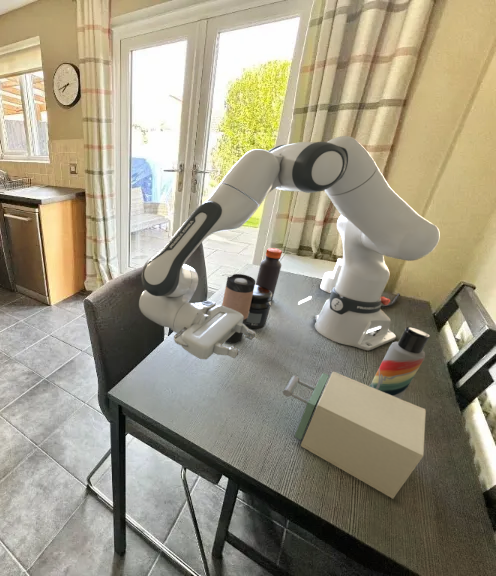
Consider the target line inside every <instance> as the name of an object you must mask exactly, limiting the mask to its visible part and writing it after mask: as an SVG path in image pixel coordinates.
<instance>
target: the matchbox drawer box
mask: <svg viewBox="0 0 496 576" xmlns="http://www.w3.org/2000/svg"><path fill="white" fill-rule="evenodd" d="M426 411H427V409H426V408H423V407H422V406H421V407H420V406H418V405H416V404H414V403H411V402H409V401H407V400H405V399H404V400H403V399H402V398H401V399H399V398H396V397H394V396H392V395H389V394H387V393H384V392H382V391H379V390H377V389H375V388H372V387H370V385H368V384H365V383H362V382H360V381H358V380H355V379H353V378H350V377H348V376H345V375H343V374H340V373H338V372H335V371H332V373H331V374H330V376H329V378H328V380H327V382H326V384H325V387H324V389H323V391H322V394H321V396H320V399H319V401H318V403H317V406H316V408H315V410H314V413H313V415H312V417H311V419H310V421H309V423H308V426H307V428H306V430H305V433H304V435H303V438H302V441H301V443H300V447H302V448H304V449H305V450H307V451H308V452H310V453H312V454H314V455H316V456H317V457H319V458H321V459H322V460H325V461H326V462H328V463H329V464H331V465H333V466H335V467H336V468H338V469H340V470H342V471H344V472H345V473H347V474H348V475H350V476H352V477H353V478H356V479H357V480H359V481H361V482H363V484H366V485H368V486H370V487H371V488H373V489H374V490H377V491H378V492H380V493H381V494H383V495H385V496H387V497H389V498H391V499H393V500H394V499H395V497H396V495H397V494H398V493H399V491H400V490H401V488H402V487H403V486H404V485H405V483H406V482H407V481H408V478H410V476H411V475H412V473H413V472H414V470H415V469H416V467H417V466H418V465H419V463H420V462H421V460H422V459H423V458H424V454H425V453H424V451H425V434H426V433H425V432H426V414H427V413H426Z"/></svg>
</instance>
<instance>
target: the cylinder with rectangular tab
mask: <svg viewBox="0 0 496 576" xmlns="http://www.w3.org/2000/svg"><path fill="white" fill-rule="evenodd" d="M342 262H343V258H339V257H338V258H337V260H336V263H335V266H334V269H333V271H326V272H324V274H323V277H322V280H321V283H320V286H319V288H320V289H321V290H322V291H324V292H325V293H329V294H330V293H331V291H332V289H333V288H334V287H335V286H336V283H337V280H338V277H339V274H340V271H341V268H342Z"/></svg>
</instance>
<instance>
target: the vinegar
mask: <svg viewBox="0 0 496 576" xmlns="http://www.w3.org/2000/svg"><path fill="white" fill-rule="evenodd" d="M282 253H283V250H281V249H279V248H276V247H269V248H267V249H266V251H265V258H264V259H263V260H261V261H260V264H259V269H258V273H257V276H256V277H257V278H256V280H255V285H258V286H262V287H264V288H267V289H268V290H270V291H271V292H272V297H271V300H270V301H271V303H272V302H273V299H274V295H275V291H276V287H277V284H278V280H279V276H280V272H281V269H282V263H281V262H280V259H281V257H282Z"/></svg>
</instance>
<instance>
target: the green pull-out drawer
mask: <svg viewBox="0 0 496 576" xmlns="http://www.w3.org/2000/svg"><path fill="white" fill-rule="evenodd" d="M329 378H330V375H329V374H327V373H325V372H322V373H321V376H320V377H319V379H318V381H317V383H316V385H315V386H313V385H312V384H309V383H307V382H304V381H303V380H300V378H299V377H298V376H297V375H292V376H291V377H290V379H289V381H288V382H287V383H286V385H285V387H284V388H283V390H282V394H283V395H284V396H285V397H287V398H289V397H292V398H294V399H297V400H298V401H300V402H302V403H304V404H306V406H305V409H304V411H303V414H302V417H301V419H300V422H299V424H298V427H297V429H296V431H295V434H294V437H295V438H296V439H298V440H300V441H301V440H303V438H304V435H305V433H306V431H307V429H308V427H309V424H310V422H311V419H312V417H313V415H314V412H315V410H316V408H317V405H318V403H319V401H320V399H321V396H322V394H323V392H324V390H325V388H326V385H327V383H328V380H329ZM298 385H301V386H303V387H305V388H307V389H310V390H312V391H313V392H312V394H311V395H310V398H309V399H307V398H305V397H303V396H301V395H299V394H296V393H294V391H295V390H296V387H297V386H298Z"/></svg>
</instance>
